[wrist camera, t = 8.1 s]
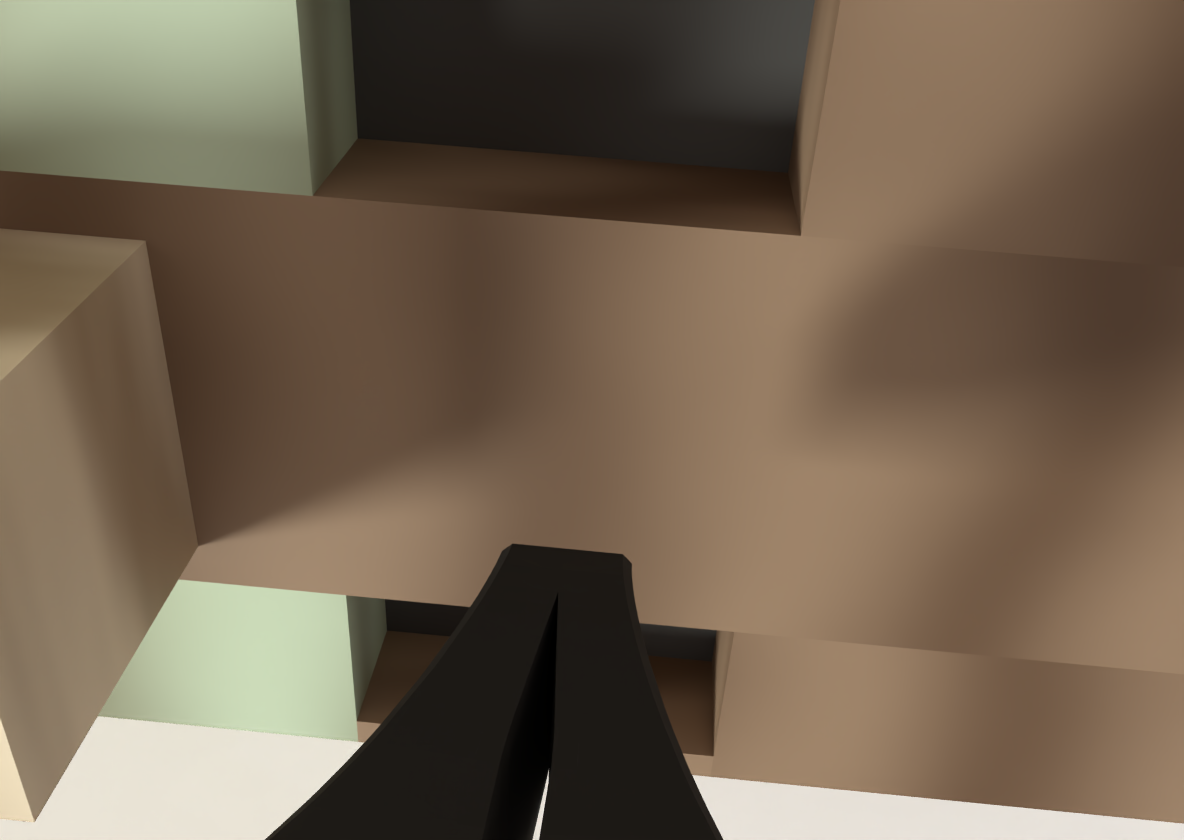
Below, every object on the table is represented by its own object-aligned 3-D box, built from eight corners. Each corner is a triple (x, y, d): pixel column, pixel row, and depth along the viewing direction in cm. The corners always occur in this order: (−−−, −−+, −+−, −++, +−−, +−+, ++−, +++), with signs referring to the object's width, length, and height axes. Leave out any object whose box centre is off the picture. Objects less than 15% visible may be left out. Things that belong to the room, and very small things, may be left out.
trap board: (1697, -29, 14) (1881, 20, 11) (1278, 723, 21) (1344, 839, 18) (-342, -174, 14) (-520, -155, 12) (-73, 594, 21) (-156, 690, 19)
